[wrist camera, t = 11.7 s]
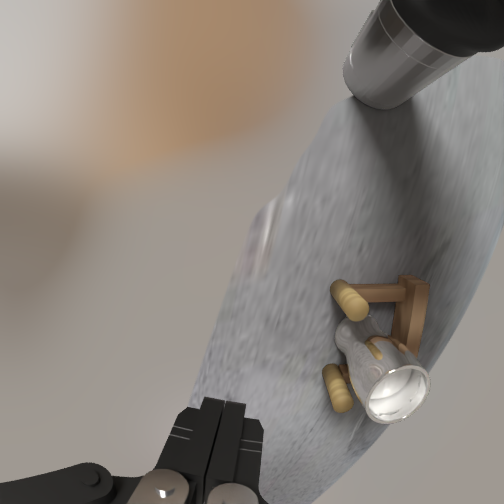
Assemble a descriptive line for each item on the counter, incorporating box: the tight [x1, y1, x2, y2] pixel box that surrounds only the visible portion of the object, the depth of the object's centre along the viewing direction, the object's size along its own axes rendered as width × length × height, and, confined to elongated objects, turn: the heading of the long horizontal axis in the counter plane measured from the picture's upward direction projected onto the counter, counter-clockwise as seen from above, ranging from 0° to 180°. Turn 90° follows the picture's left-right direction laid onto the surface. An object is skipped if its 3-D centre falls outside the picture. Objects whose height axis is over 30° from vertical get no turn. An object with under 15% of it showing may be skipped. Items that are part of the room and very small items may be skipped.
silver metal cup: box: [335, 314, 431, 424], centre depth 30 cm, size 7×7×15 cm
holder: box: [322, 275, 430, 413], centre depth 34 cm, size 15×11×8 cm
